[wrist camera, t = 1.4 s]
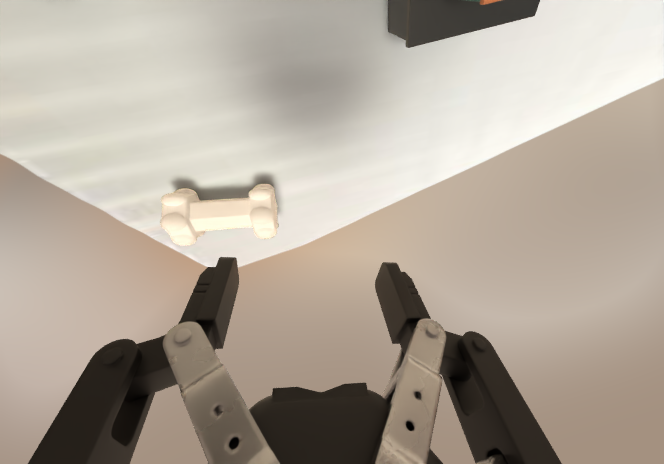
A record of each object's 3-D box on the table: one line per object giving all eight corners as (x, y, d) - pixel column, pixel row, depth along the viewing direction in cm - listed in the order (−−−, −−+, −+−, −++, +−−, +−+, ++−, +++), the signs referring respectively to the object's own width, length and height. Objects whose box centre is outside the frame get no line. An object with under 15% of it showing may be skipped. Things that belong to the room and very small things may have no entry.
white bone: (272, 171, 37) (270, 205, 31) (279, 213, 43) (279, 248, 37) (168, 177, 35) (146, 214, 30) (191, 220, 41) (177, 257, 36)
